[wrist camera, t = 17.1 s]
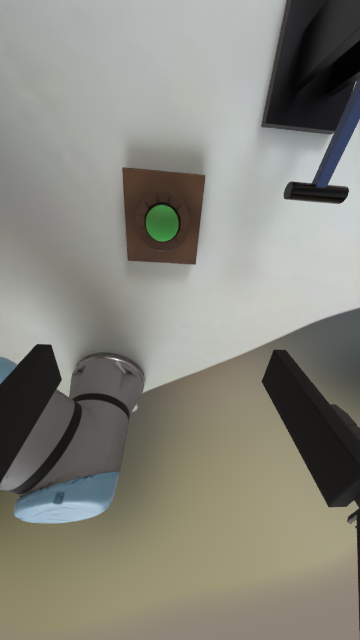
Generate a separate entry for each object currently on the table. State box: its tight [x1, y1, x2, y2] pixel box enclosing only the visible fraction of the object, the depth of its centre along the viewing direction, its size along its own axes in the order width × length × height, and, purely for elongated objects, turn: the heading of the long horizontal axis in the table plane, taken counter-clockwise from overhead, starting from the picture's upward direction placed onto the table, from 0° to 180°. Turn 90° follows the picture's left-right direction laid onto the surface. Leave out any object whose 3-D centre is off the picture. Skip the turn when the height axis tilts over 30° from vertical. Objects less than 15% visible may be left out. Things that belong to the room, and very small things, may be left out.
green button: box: [146, 205, 179, 242], centre depth 25 cm, size 4×4×2 cm
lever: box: [284, 76, 360, 204], centre depth 17 cm, size 14×6×2 cm, turn 176°
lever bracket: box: [261, 0, 360, 134], centre depth 17 cm, size 10×9×13 cm
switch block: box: [122, 168, 205, 265], centre depth 27 cm, size 11×10×4 cm
